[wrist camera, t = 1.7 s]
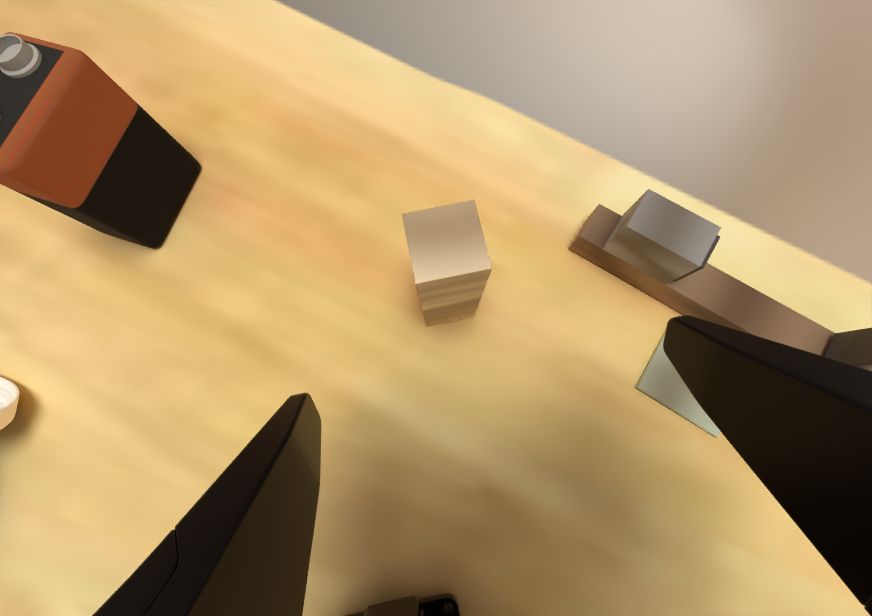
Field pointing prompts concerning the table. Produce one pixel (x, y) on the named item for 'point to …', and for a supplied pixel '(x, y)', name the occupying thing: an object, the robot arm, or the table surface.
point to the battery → (86, 143)
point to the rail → (697, 292)
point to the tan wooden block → (448, 260)
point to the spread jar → (7, 401)
